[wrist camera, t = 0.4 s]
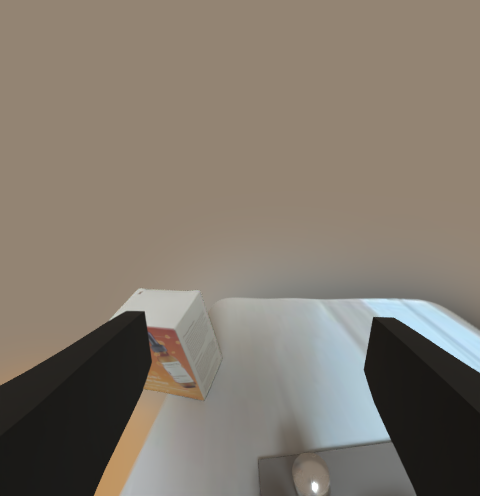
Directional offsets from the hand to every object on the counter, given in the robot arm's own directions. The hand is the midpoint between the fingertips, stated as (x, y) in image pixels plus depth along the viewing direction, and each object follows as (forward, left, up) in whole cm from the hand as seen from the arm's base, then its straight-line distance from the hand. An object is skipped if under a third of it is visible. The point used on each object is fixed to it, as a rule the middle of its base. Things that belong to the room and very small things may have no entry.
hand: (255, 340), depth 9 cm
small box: (+16, +11, -20) cm, 28 cm away
